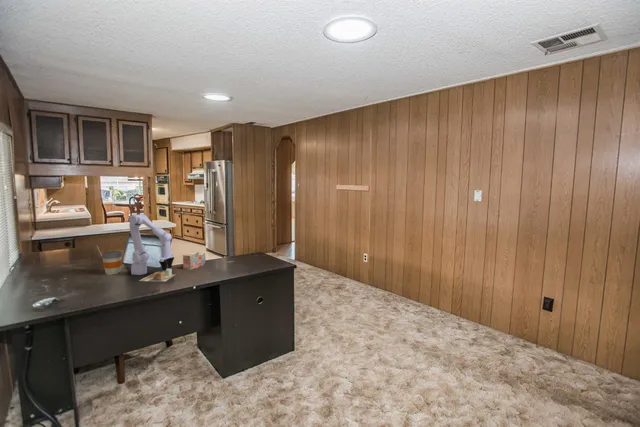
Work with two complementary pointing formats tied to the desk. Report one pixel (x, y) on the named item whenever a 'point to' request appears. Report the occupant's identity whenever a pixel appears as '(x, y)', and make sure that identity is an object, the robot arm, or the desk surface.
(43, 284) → the desk surface
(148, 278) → the baseplate
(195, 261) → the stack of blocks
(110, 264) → the reusable coffee cup
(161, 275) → the oak block
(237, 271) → the desk surface
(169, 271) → the sage block
